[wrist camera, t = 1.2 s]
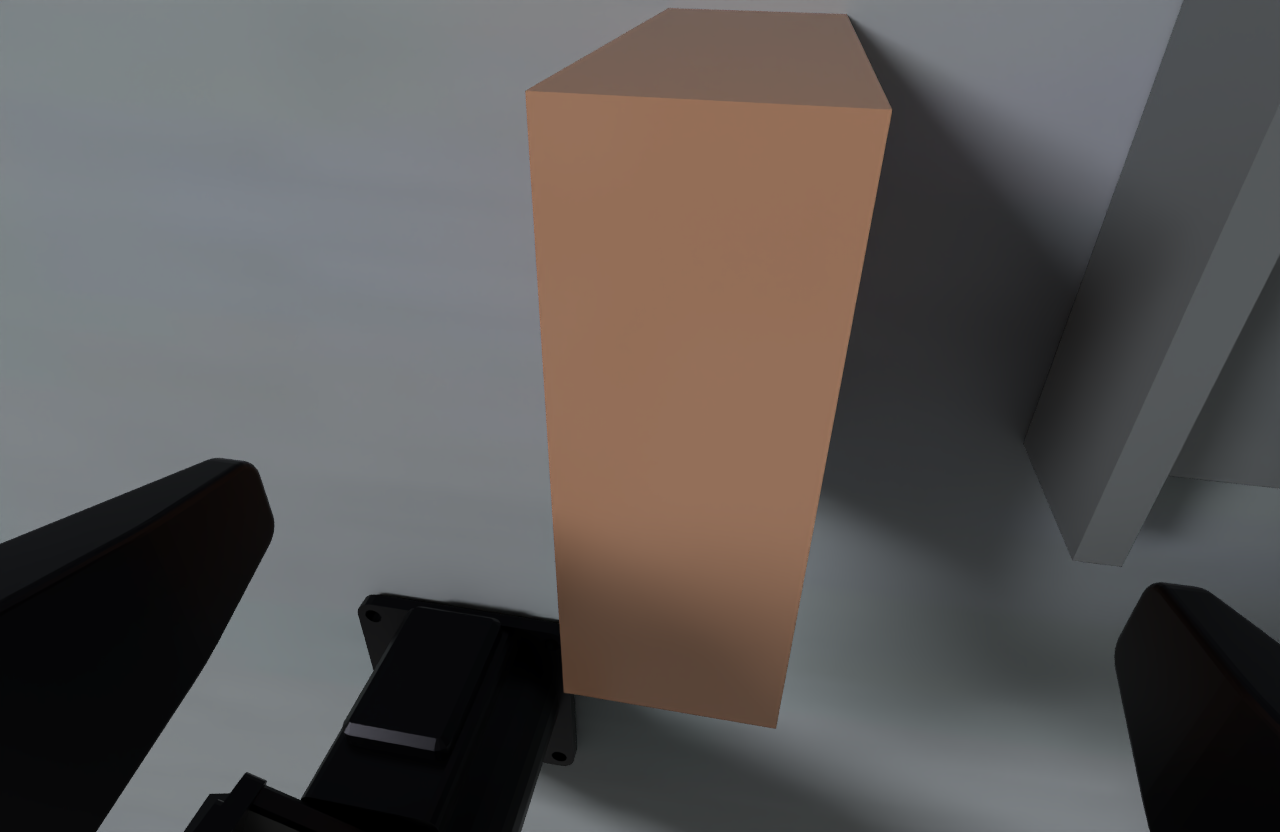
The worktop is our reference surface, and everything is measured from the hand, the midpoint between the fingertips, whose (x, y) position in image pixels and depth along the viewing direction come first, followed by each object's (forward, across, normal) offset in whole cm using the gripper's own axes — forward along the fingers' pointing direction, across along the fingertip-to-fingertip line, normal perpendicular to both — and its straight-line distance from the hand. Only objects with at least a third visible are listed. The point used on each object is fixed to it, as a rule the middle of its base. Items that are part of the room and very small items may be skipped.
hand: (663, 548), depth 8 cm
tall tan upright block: (+9, 0, 0) cm, 9 cm away
